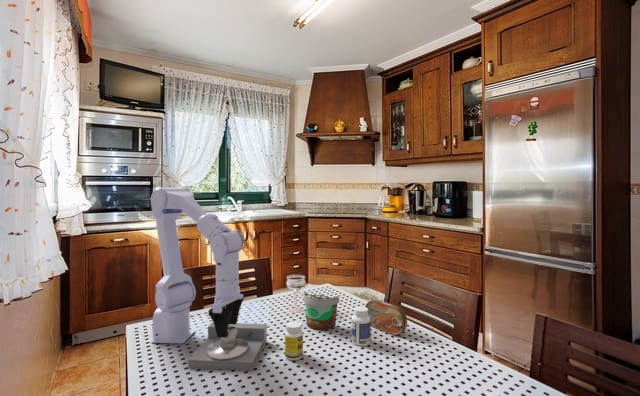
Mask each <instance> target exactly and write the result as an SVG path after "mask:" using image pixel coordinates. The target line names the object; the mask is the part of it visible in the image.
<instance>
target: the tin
mask: <svg viewBox="0 0 640 396" xmlns="http://www.w3.org/2000/svg"><path fill="white" fill-rule="evenodd" d="M364 307H366V308H368V316H369V317H370V319H371V328H374V329H376V330H379V331H381V332H384V333H386V334H388V335H391V336H399V335H400V334H402V333H403V332H405V331H406V330H407V327H408V317H407V315H406V312H405V311H404V310H403V309H402V307H400V306H397V305H395V304H393V303H392V304H391V303H387V302H385V301H381V300H378V299H376V300H375V299H374V300H370V301H368V302H366V304H365V305H364Z"/></svg>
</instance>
